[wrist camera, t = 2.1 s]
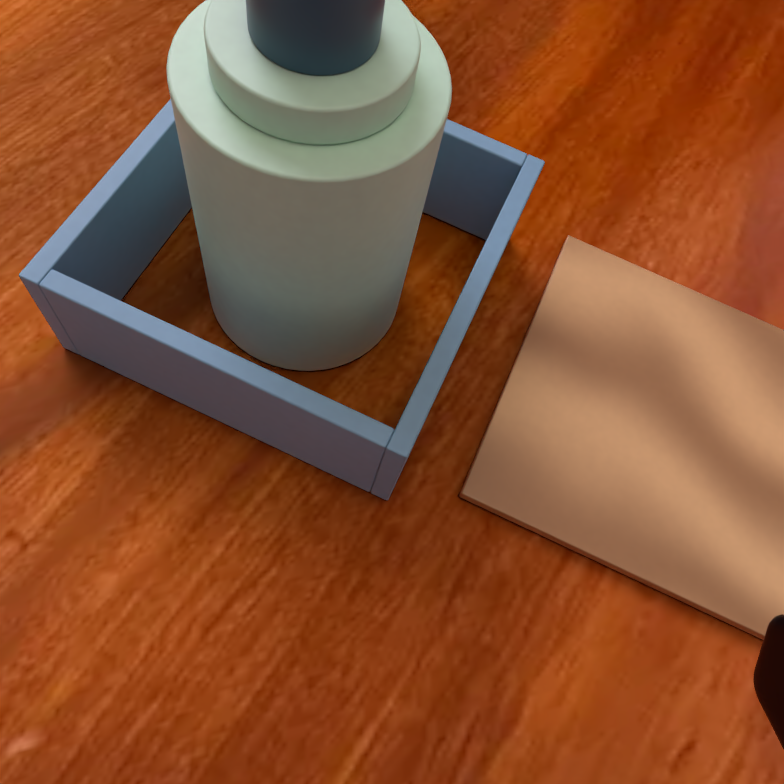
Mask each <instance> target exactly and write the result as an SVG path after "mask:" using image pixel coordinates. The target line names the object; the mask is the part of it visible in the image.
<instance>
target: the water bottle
mask: <svg viewBox="0 0 784 784" xmlns="http://www.w3.org/2000/svg"><path fill="white" fill-rule="evenodd" d="M167 82H168V87H169V92H170V97H171V102H172V107H173V113H174V118H175V123H176V128H177V133H178V138H179V143H180V148H181V153H182V158H183V163H184V168H185V173H186V179H187V184H188V189H189V194H190V199H191V204H192V209H193V214H194V219H195V224H196V229H197V234H198V240H199V245H200V250H201V255H202V260H203V265H204V270H205V275H206V280H207V285H208V290H209V295H210V300H211V304H212V309H213V311H214V314H215V316H216V319H217V321H218V322H219V324H220V326H221V327H222V329H223V330H224V332H225V333H226V334H227V335H228V337H229V338H230V339H231V340H232V341H233V342H234V343H235V344H236V345H237V346H238V347H240V348H241V349H242V350H244V351H245V352H247V353H248V354H249V355H251V356H253V357H255V358H257V359H259V360H261V361H263V362H265V363H268V364H271V365H273V366H277V367H281V368H285V369H291V370H299V371H314V370H324V369H329V368H334V367H338V366H340V365H343V364H346V363H349V362H351V361H353V360H355V359H357V358H359V357H361V356H362V355H364V354H365V353H367V352H368V351H369V350H371V349H372V348H373V347H374V346H375V345H376V344H377V343H378V342H379V341H380V340H381V339H382V338H383V337H384V335H385V334H386V332H387V331H388V329H389V328H390V326H391V324H392V322H393V320H394V317H395V315H396V311H397V307H398V303H399V299H400V296H401V292H402V288H403V284H404V280H405V277H406V273H407V269H408V265H409V261H410V257H411V254H412V250H413V246H414V242H415V238H416V235H417V231H418V227H419V223H420V219H421V216H422V212H423V208H424V204H425V200H426V196H427V193H428V189H429V185H430V181H431V177H432V174H433V170H434V166H435V162H436V158H437V154H438V151H439V147H440V143H441V139H442V135H443V132H444V128H445V124H446V120H447V116H448V112H449V109H450V105H451V97H452V84H451V76H450V72H449V68H448V65H447V61H446V59H445V57H444V54H443V52H442V50H441V48H440V47H439V45H438V43H437V42H436V40H435V39H434V37H433V36H432V35H431V34H430V32H429V31H428V30H427V29H426V28H425V26H424V25H423V24H421V23H420V22H419V21H418V20H417V19H416V18H415V17H414V16H413V15H412V14H411V12H410V11H409V9H408V7H407V6H406V5H405V4H404V3H403V1H402V0H206V1H204V2H203V3H202V4H200V5H199V6H198V7H197V8H196V9H195V10H194V11H192V12H191V13H190V14H189V15H188V16H187V18H186V19H185V20H184V22H183V23H182V24H181V25H180V27H179V29H178V31H177V32H176V34H175V36H174V38H173V41H172V44H171V47H170V50H169V53H168V59H167Z"/></svg>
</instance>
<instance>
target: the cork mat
mask: <svg viewBox="0 0 784 784" xmlns="http://www.w3.org/2000/svg"><path fill="white" fill-rule="evenodd" d="M459 497H461V498H463V499H465V500H467V501H469V502H471V503H473V504H475V505H478V506H480V507H482V508H484V509H486V510H488V511H490V512H492V513H495V514H497V515H499V516H501V517H503V518H505V519H507V520H509V521H512V522H514V523H516V524H518V525H520V526H522V527H524V528H526V529H529V530H531V531H533V532H535V533H537V534H539V535H541V536H543V537H545V538H548V539H550V540H552V541H554V542H556V543H558V544H560V545H562V546H565V547H567V548H569V549H571V550H573V551H575V552H577V553H579V554H582V555H584V556H586V557H588V558H590V559H592V560H594V561H596V562H599V563H601V564H603V565H605V566H607V567H609V568H611V569H613V570H616V571H618V572H620V573H622V574H624V575H626V576H628V577H630V578H633V579H635V580H637V581H639V582H641V583H643V584H645V585H647V586H650V587H652V588H654V589H656V590H658V591H660V592H662V593H664V594H667V595H669V596H671V597H673V598H675V599H677V600H679V601H681V602H684V603H686V604H688V605H690V606H692V607H694V608H696V609H698V610H701V611H703V612H705V613H707V614H709V615H711V616H713V617H715V618H717V619H720V620H722V621H724V622H726V623H728V624H730V625H732V626H734V627H737V628H739V629H741V630H743V631H745V632H747V633H749V634H751V635H754V636H756V637H758V638H760V639H762V640H764V637H765V634H766V630H767V627H768V625H769V622H770V621H771V620H772V619H773V618H774V617H775V616H778V615H781V614H784V330H782V329H780V328H778V327H775V326H773V325H771V324H769V323H766V322H764V321H762V320H760V319H757V318H755V317H753V316H750V315H748V314H746V313H744V312H741V311H739V310H737V309H735V308H732V307H730V306H728V305H726V304H723V303H721V302H719V301H716V300H714V299H712V298H710V297H707V296H705V295H703V294H701V293H698V292H696V291H694V290H691V289H689V288H687V287H685V286H682V285H680V284H678V283H676V282H673V281H671V280H669V279H666V278H664V277H662V276H660V275H657V274H655V273H653V272H651V271H648V270H646V269H644V268H642V267H639V266H637V265H635V264H632V263H630V262H628V261H626V260H623V259H621V258H619V257H617V256H614V255H612V254H610V253H607V252H605V251H603V250H601V249H598V248H596V247H594V246H592V245H589V244H587V243H585V242H583V241H580V240H578V239H576V238H573V237H571V236H567V238H566V240H565V242H564V244H563V246H562V249H561V251H560V254H559V256H558V258H557V261H556V263H555V266H554V268H553V270H552V273H551V275H550V278H549V280H548V282H547V285H546V287H545V290H544V292H543V295H542V297H541V299H540V302H539V304H538V307H537V309H536V311H535V314H534V316H533V319H532V321H531V323H530V326H529V328H528V331H527V333H526V335H525V338H524V340H523V343H522V345H521V347H520V350H519V352H518V355H517V357H516V359H515V362H514V364H513V367H512V369H511V371H510V374H509V376H508V379H507V381H506V383H505V386H504V388H503V391H502V393H501V395H500V398H499V400H498V403H497V405H496V407H495V410H494V412H493V415H492V417H491V420H490V422H489V424H488V427H487V429H486V432H485V434H484V436H483V439H482V441H481V444H480V446H479V448H478V451H477V453H476V456H475V458H474V460H473V463H472V465H471V468H470V470H469V472H468V475H467V477H466V480H465V482H464V484H463V487H462V489H461V492H460V494H459Z"/></svg>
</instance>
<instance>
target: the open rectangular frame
mask: <svg viewBox="0 0 784 784" xmlns="http://www.w3.org/2000/svg"><path fill="white" fill-rule="evenodd" d="M544 163H545V162H544V161H543V160H541V159H538V158H536V157H534V156H531V155H528V156H527V154H526V153H524V152H522V151H519V150H517V149H515V148H512V147H510V146H508V145H505V144H503V143H501V142H499V141H496V140H494V139H492V138H489V137H487V136H485V135H482V134H480V133H478V132H476V131H473V130H471V129H469V128H466V127H464V126H462V125H459V124H457V123H455V122H453V121H450V120H448V119H447V120H446V124H445V128H444V132H443V135H442V139H441V143H440V147H439V151H438V154H437V158H436V162H435V166H434V170H433V174H432V177H431V181H430V185H429V189H428V193H427V196H426V200H425V204H424V208H423V212H424V213H426V214H429V215H431V216H433V217H435V218H438V219H440V220H442V221H444V222H447V223H449V224H451V225H453V226H456V227H458V228H460V229H462V230H465V231H467V232H469V233H471V234H474V235H476V236H478V237H480V238H483V239H485V240H486V242H485V244H484V246H483V248H482V251H481V253H480V255H479V257H478V259H477V261H476V263H475V265H474V267H473V269H472V271H471V273H470V275H469V277H468V279H467V282H466V284H465V286H464V288H463V290H462V292H461V294H460V296H459V298H458V300H457V302H456V304H455V306H454V308H453V310H452V313H451V315H450V317H449V319H448V321H447V323H446V325H445V327H444V329H443V331H442V333H441V335H440V337H439V339H438V341H437V344H436V346H435V348H434V350H433V352H432V354H431V356H430V358H429V360H428V362H427V364H426V366H425V368H424V370H423V372H422V374H421V377H420V379H419V381H418V383H417V385H416V387H415V389H414V391H413V393H412V395H411V397H410V399H409V401H408V403H407V405H406V408H405V410H404V412H403V414H402V416H401V418H400V420H399V422H398V424H397V426H396V428H395V430H394V429H393V428H392V427H389V426H387V425H385V424H383V423H381V422H379V421H377V420H374V419H372V418H370V417H368V416H366V415H364V414H362V413H359V412H357V411H355V410H353V409H351V408H349V407H347V406H345V405H342V404H340V403H338V402H336V401H334V400H332V399H330V398H327V397H325V396H323V395H321V394H319V393H317V392H315V391H312V390H310V389H308V388H306V387H304V386H302V385H300V384H297V383H295V382H293V381H291V380H289V379H287V378H285V377H282V376H280V375H278V374H276V373H274V372H272V371H270V370H267V369H265V368H263V367H261V366H259V365H257V364H255V363H252V362H250V361H248V360H246V359H244V358H242V357H240V356H237V355H235V354H233V353H231V352H229V351H227V350H225V349H223V348H220V347H218V346H216V345H214V344H212V343H210V342H208V341H205V340H203V339H201V338H199V337H197V336H195V335H193V334H190V333H188V332H186V331H184V330H182V329H180V328H178V327H175V326H173V325H171V324H169V323H167V322H165V321H163V320H160V319H158V318H156V317H154V316H152V315H150V314H148V313H145V312H143V311H141V310H139V309H137V308H135V307H133V306H130V305H128V304H126V303H124V302H122V301H121V299H122V298H123V297H124V296H125V294H126V293H127V292H128V290H129V289H130V288H131V286H132V285H133V284H134V282H135V281H136V280H137V278H138V277H139V276H140V274H141V273H142V272H143V271H144V269H145V268H146V267H147V265H148V264H149V263H150V261H151V260H152V259H153V257H154V256H155V255H156V253H157V252H158V251H159V250H160V248H161V247H162V246H163V244H164V243H165V242H166V240H167V239H168V238H169V236H170V235H171V234H172V232H173V231H174V230H175V229H176V227H177V226H178V225H179V223H180V222H181V221H182V219H183V218H184V217H185V215H186V214H187V213H188V211H189V210H190V209H191V208H192V204H191V199H190V194H189V189H188V184H187V179H186V173H185V168H184V163H183V158H182V153H181V148H180V143H179V138H178V133H177V128H176V123H175V118H174V113H173V107H172V102H171V99H170V100H169V101H168V102H167V104H166V105H165V106H164V107H163V108H162V109H161V111H160V112H159V113H158V114H157V115H156V116H155V118H154V119H153V120H152V121H151V122H150V123H149V124H148V126H147V127H146V128H145V129H144V130H143V131H142V133H141V134H140V135H139V136H138V137H137V138H136V140H135V141H134V142H133V143H132V144H131V145H130V146H129V148H128V149H127V150H126V151H125V152H124V153H123V155H122V156H121V157H120V158H119V159H118V160H117V162H116V163H115V164H114V165H113V166H112V167H111V168H110V170H109V171H108V172H107V173H106V174H105V175H104V177H103V178H102V179H101V180H100V181H99V182H98V184H97V185H96V186H95V187H94V188H93V189H92V190H91V192H90V193H89V194H88V195H87V196H86V197H85V199H84V200H83V201H82V202H81V203H80V204H79V206H78V207H77V208H76V209H75V210H74V211H73V212H72V214H71V215H70V216H69V217H68V218H67V219H66V221H65V222H64V223H63V224H62V225H61V226H60V228H59V229H58V230H57V231H56V232H55V233H54V234H53V236H52V237H51V238H50V239H49V240H48V241H47V243H46V244H45V245H44V246H43V247H42V248H41V250H40V251H39V252H38V253H37V254H36V255H35V256H34V258H33V259H32V260H31V261H30V262H29V263H28V265H27V266H26V267H25V268H24V269H23V270H22V272H21V273H20V274H19V277H20V279H21V280H22V282H23V283H24V285H25V287H26V288H27V290H28V291H29V293H30V295H31V296H32V298H33V299H34V301H35V303H36V304H37V306H38V307H39V309H40V311H41V312H42V314H43V315H44V317H45V319H46V320H47V322H48V323H49V325H50V327H51V328H52V330H53V331H54V333H55V335H56V336H57V338H58V339H59V341H60V343H61V344H62V346H63V347H64V348H66V349H68V350H70V351H72V352H74V353H77V354H80V355H81V356H83V357H85V358H87V359H89V360H92V361H94V362H96V363H98V364H100V365H102V366H104V367H106V368H108V369H110V370H113V371H115V372H117V373H119V374H121V375H123V376H125V377H127V378H129V379H132V380H134V381H136V382H138V383H140V384H142V385H144V386H146V387H148V388H151V389H153V390H155V391H157V392H159V393H161V394H163V395H165V396H167V397H169V398H172V399H174V400H176V401H178V402H180V403H182V404H184V405H186V406H188V407H191V408H193V409H195V410H197V411H199V412H201V413H203V414H205V415H207V416H210V417H212V418H214V419H216V420H218V421H220V422H222V423H224V424H226V425H228V426H231V427H233V428H235V429H237V430H239V431H241V432H243V433H245V434H247V435H250V436H252V437H254V438H256V439H258V440H260V441H262V442H264V443H266V444H268V445H271V446H273V447H275V448H277V449H279V450H281V451H283V452H285V453H287V454H290V455H292V456H294V457H296V458H298V459H300V460H302V461H304V462H306V463H309V464H311V465H313V466H315V467H317V468H319V469H321V470H323V471H325V472H327V473H330V474H332V475H334V476H336V477H338V478H340V479H342V480H344V481H346V482H349V483H351V484H353V485H355V486H357V487H359V488H361V489H363V490H365V491H367V492H370V491H371V493H372V494H374V495H376V496H378V497H380V498H382V499H384V500H387V501H388V500H389V498H390V495H391V493H392V491H393V489H394V487H395V485H396V483H397V480H398V478H399V476H400V474H401V472H402V470H403V467H404V465H405V463H406V461H407V459H408V457H409V455H410V452H411V450H412V448H413V446H414V444H415V442H416V439H417V437H418V435H419V433H420V431H421V429H422V427H423V424H424V422H425V420H426V418H427V416H428V414H429V411H430V409H431V407H432V405H433V403H434V401H435V399H436V396H437V394H438V392H439V390H440V388H441V386H442V383H443V381H444V379H445V377H446V375H447V373H448V371H449V368H450V366H451V364H452V362H453V360H454V358H455V356H456V353H457V351H458V349H459V347H460V345H461V343H462V340H463V338H464V336H465V334H466V332H467V330H468V328H469V325H470V323H471V321H472V319H473V317H474V315H475V312H476V310H477V308H478V306H479V304H480V302H481V300H482V297H483V295H484V293H485V291H486V289H487V287H488V284H489V282H490V280H491V278H492V276H493V274H494V272H495V269H496V267H497V265H498V263H499V261H500V259H501V257H502V254H503V252H504V250H505V248H506V246H507V244H508V241H509V239H510V237H511V235H512V233H513V231H514V228H515V226H516V224H517V222H518V220H519V218H520V215H521V213H522V211H523V209H524V207H525V205H526V202H527V200H528V198H529V196H530V194H531V192H532V189H533V187H534V185H535V183H536V181H537V179H538V176H539V174H540V172H541V170H542V168H543V166H544Z"/></svg>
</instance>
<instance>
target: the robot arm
mask: <svg viewBox="0 0 784 784" xmlns="http://www.w3.org/2000/svg"><path fill="white" fill-rule="evenodd" d="M754 687H755V691H756V694H757V697H758V699H759V702H760V703H761V705H762V707H763V709H764V711H765V713H766V715H767V717H768V719H769V721H770V723H771V725H772V727H773V729H774V731H775V733H776V735H777V737H778V739H779V741H780V743H781V745H782V747H783V749H784V614H781V615H778V616H775V617H774V618H773V619H772V620H771V621H770V622H769V625H768V627H767V630H766V634H765V637H764V640H763V644H762V647H761V650H760V654H759V657H758V660H757V664H756V667H755V671H754Z"/></svg>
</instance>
